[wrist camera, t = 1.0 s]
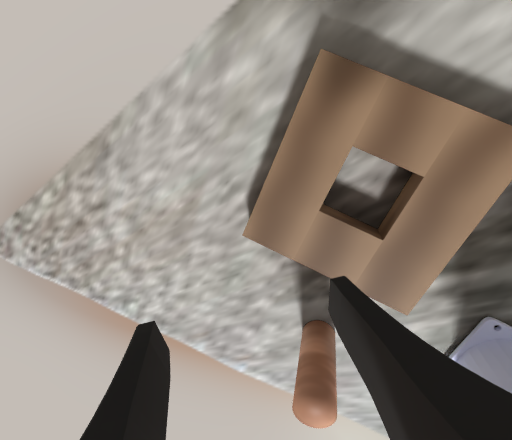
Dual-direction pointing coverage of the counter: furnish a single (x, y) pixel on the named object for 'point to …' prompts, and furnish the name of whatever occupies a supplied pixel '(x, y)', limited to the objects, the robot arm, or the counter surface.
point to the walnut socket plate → (394, 151)
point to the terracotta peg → (316, 376)
